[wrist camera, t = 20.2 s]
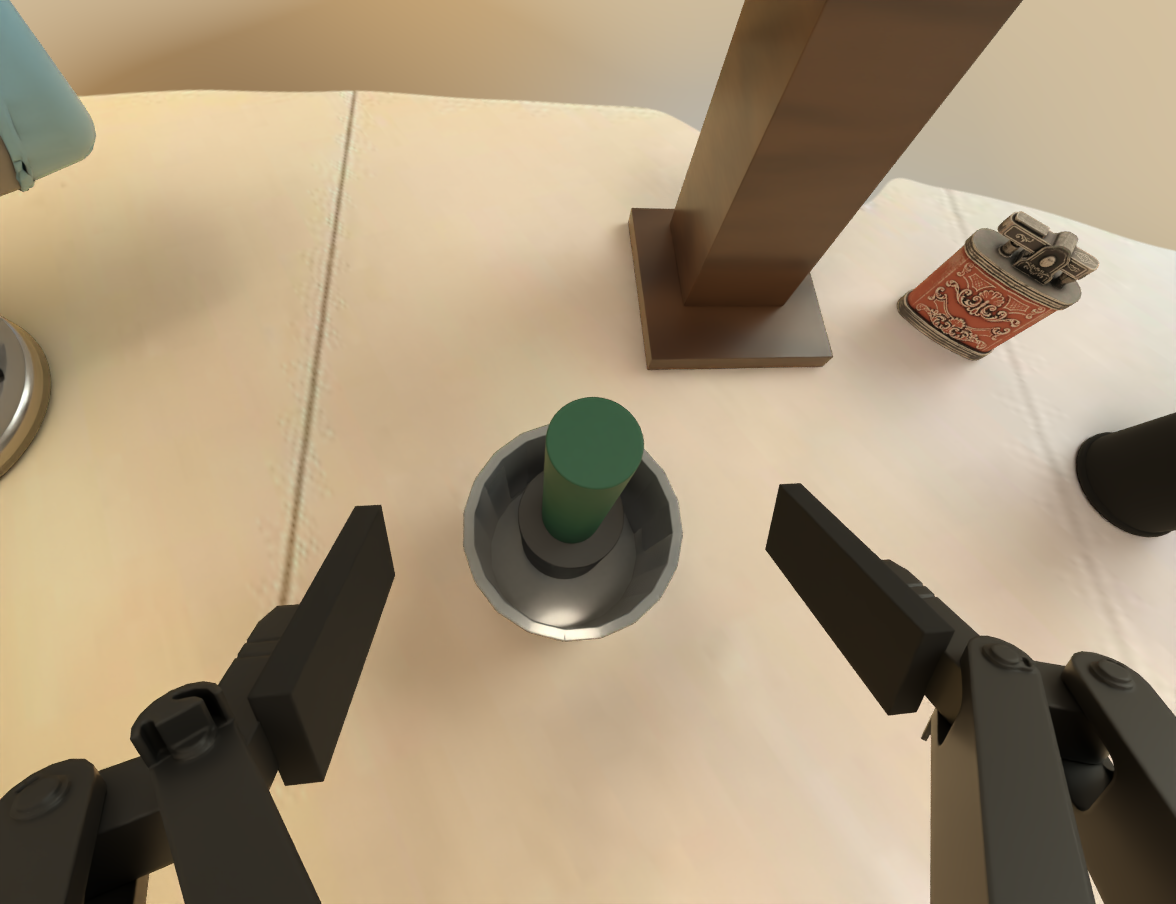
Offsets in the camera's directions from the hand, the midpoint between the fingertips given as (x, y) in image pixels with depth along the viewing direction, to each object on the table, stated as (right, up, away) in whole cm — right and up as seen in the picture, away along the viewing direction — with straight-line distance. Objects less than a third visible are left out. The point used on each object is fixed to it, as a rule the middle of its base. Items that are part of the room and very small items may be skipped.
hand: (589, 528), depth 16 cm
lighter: (+29, +13, +24) cm, 40 cm away
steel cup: (-2, -4, +15) cm, 15 cm away
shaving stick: (0, -2, +6) cm, 6 cm away
